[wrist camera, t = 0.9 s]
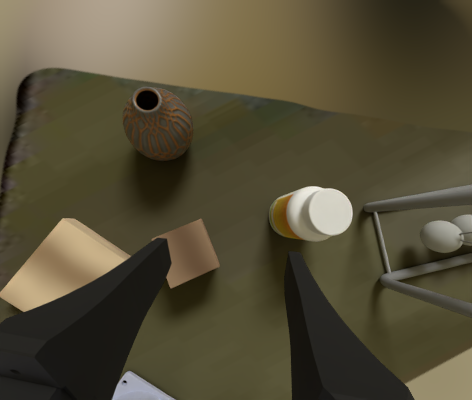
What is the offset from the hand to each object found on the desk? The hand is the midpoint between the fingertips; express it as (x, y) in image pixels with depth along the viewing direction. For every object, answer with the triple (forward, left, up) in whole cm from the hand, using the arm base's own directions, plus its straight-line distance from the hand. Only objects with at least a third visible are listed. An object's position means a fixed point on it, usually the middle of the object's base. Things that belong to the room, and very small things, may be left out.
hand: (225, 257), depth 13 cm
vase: (+7, +12, -14) cm, 19 cm away
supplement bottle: (+8, -6, -14) cm, 17 cm away
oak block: (-11, +10, -14) cm, 21 cm away
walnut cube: (-2, +2, -14) cm, 14 cm away
